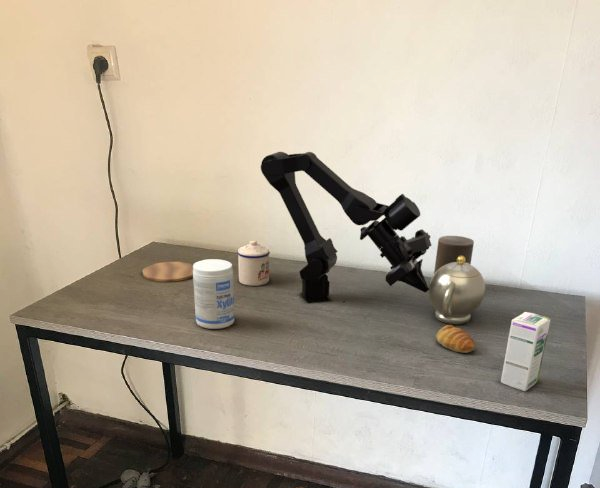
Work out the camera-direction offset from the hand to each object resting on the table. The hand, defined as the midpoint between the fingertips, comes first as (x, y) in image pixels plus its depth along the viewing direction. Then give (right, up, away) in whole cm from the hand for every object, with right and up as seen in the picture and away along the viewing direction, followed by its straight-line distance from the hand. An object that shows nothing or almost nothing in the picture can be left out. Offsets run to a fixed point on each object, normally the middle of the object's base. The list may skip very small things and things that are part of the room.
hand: (427, 291), depth 159 cm
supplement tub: (-53, -8, -2) cm, 54 cm away
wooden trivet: (-70, +10, +29) cm, 77 cm away
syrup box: (+14, -24, -27) cm, 38 cm away
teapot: (+6, -7, +1) cm, 10 cm away
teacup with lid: (-45, +7, +25) cm, 52 cm away
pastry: (+4, -15, -11) cm, 19 cm away
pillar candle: (+11, +5, +22) cm, 25 cm away
